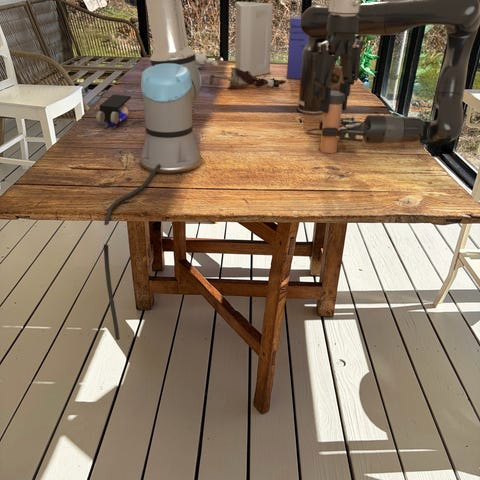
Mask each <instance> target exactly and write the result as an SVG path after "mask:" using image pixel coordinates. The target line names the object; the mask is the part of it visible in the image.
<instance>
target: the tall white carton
mask: <svg viewBox="0 0 480 480" xmlns="http://www.w3.org/2000/svg"><path fill="white" fill-rule="evenodd" d="M273 8H274V4H273V3H269V2H267V3H266V2H265V3H264V2H252V1H235V59H234V60H235V62H234V63H235V65H234V66H235V67H234V68H237V69H240V70H242V71H244V72H245V71H249V72H250V73H251V75H252V76H256V77H257V76H259V75H260V76H261V75H266V74H270V73H271V56H272V55H271V54H272V33H273V32H272V31H273V10H274V9H273Z"/></svg>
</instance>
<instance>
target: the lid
mask: <svg viewBox="0 0 480 480" xmlns="http://www.w3.org/2000/svg"><path fill="white" fill-rule="evenodd" d="M344 101H345V93H344V92H341V91H339V90H335V91H331V94H330V103H332V104H339V103H343V102H344Z"/></svg>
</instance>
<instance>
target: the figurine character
mask: <svg viewBox="0 0 480 480" xmlns="http://www.w3.org/2000/svg"><path fill="white" fill-rule="evenodd" d="M131 98H132V96H131V95H122V94H111V96H110V97H108V98H107V99H105V100H104V101H103V102H101V104H99V110H98V111H96V115H95V119H96V123H98V124H103V123H106V124H105V125H104V127H103V128H104V129H107V128H108V127H110V126H113V127H112V129H114V130H115V129H116V128H117V127H118V126H119V124H120V123H121V122H122V121H124V120H126V119H127V117H128V116H129V114H130V110H129V107H128V106H127V104H126V103H127V102H128V101H129V100H130V99H131Z"/></svg>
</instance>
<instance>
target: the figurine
mask: <svg viewBox="0 0 480 480" xmlns="http://www.w3.org/2000/svg"><path fill="white" fill-rule="evenodd" d="M230 69H231V72H230V73H231V74H230V76H229V75H225V74H213V73H211V74H210V78H209V85H212V84H213V83H214V79H215V78H216V79H223V80H227V81H229V84H228V88H229V89H241V88H247V87H249V86H255V87H256V88H262V87H268V88H271V89H273V88H280V86H281V85H284V84H286V83H287V80H285V79H275V78H274V77H272V78H265V77H262V78H261V77H257V76H252V75H251V73H250V72H249V71H245V72H244V71H242V70H240V69H237V68H235V67H232V66H231V67H230Z"/></svg>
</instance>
